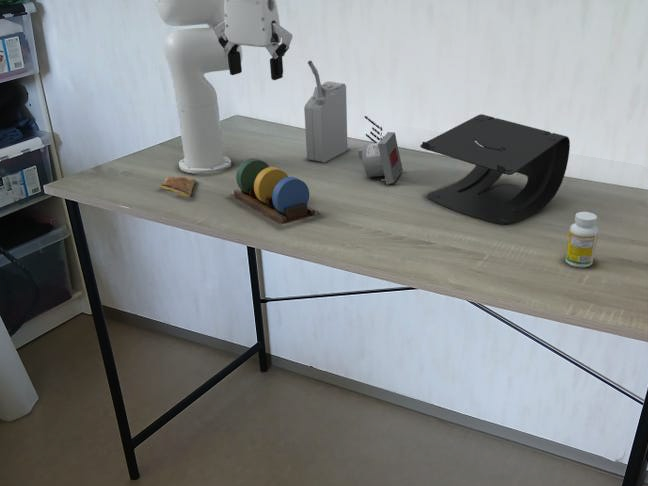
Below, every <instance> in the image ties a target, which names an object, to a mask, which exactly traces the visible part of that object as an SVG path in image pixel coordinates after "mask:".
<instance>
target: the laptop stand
mask: <svg viewBox="0 0 648 486" xmlns="http://www.w3.org/2000/svg"><path fill="white" fill-rule="evenodd" d="M570 145H571V140H570V138H569V136H568V135H563V134H559V133H556V132H551V131H548V130H545V129H540V128H536V127H532V126H529V125H525V124H521V123H518V122H514V121H509V120H505V119H502V118H498V117H493V116H490V115H486V114H482V113H481V114H478V115H475V116H474V117H472V118H470V119H468V120H466V121H463V122H462V123H460V124H458V125H456V126H454V127H452V128H450V129H449V130H447V131H444V132H442V133H441V134H438V135H437V136H435V137H433V138H431V139H429V140H426V141H422V143H421V144H420V145H419V146H420V147H419V148H421V149H423V150H426V151H430V152H433V153H436V154H440V155H443V156H446V157H449V158H451V159H455V160H459V161H461V162H465V163H467V164H471V165H475V166H474V167H473V169H472V170H471V171H470V172H468V174H466V175H465V176H464V177H463V178H461V179H459V180H458V181H456V182H454V183H453V184H450V185H447V186H445V187H442V188H439V189H437V190H435V191H432V192H429V193H428V194H427V195H426V198H427V199H428V200H430V201H431V202H433V203H435V204H438V205H440V206H442V207H444V208H447V209H450V210H452V211H454V212H457V213H460V214H463V215H465V216H469V217H472V218H475V219H478V220H481V221H484V222H488V223H492V224H496V225H511V224H512V225H513V224H515V223H518V222H520V221H522V220H525V219H527V218H529V217H531V216H534V215H536V214H537V213H539V212H541V210H543V209H544V208H545V207H546V206H548V205H549V203H551V202H552V200H553V199H554V198H555V196H556V195H557V193H558V192H559V190H560V187H561V186H562V183H563V180H564V178H565V174H566V171H567V167H568V162H569V157H570V149H571V146H570ZM516 173H517V174H520V175H524V176H526V178H527V182H526V184H525V185H524V187H523V188H521V187H517V186H515V185H511V184H503V185H500V186H497V187H495V188H492V189H489V188H490V187H492V186H493V185H494V184H495V183H496V182H497V181H498V180H500V178H501V177H502V176H503V175H507V176H511V175H512V176H513V175H514V174H516ZM488 189H489V190H488Z"/></svg>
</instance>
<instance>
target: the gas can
mask: <svg viewBox="0 0 648 486" xmlns="http://www.w3.org/2000/svg"><path fill="white" fill-rule="evenodd" d="M307 64H308V66H309V69H311V72H312V75H314V78H315V83H316V86H315V87H314V90H313V93H312V96H311V97H310V98H309V99H308V100H307V102H306V103H305V105H304V107H303V108H304V109H303V111H304V129H305V148H306V160H307V161H313V162H316V163H317V162H318V163H323V164H324V163H327V162H328V161H329V160H332V159H334V158H335V157H337V156H339V155H342V154H344V153H345V152H346V151H348V113H347V112H348V111H347V106H348V105H347V104H348V103H347V85H346V84H345V83H343V82H336V81H330V80H329V81H325V82H324V83H322V84H321V78H320V75H319V71H318V69H317V67H316V66H315V64H314V62H313V60H309V61H307Z"/></svg>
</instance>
